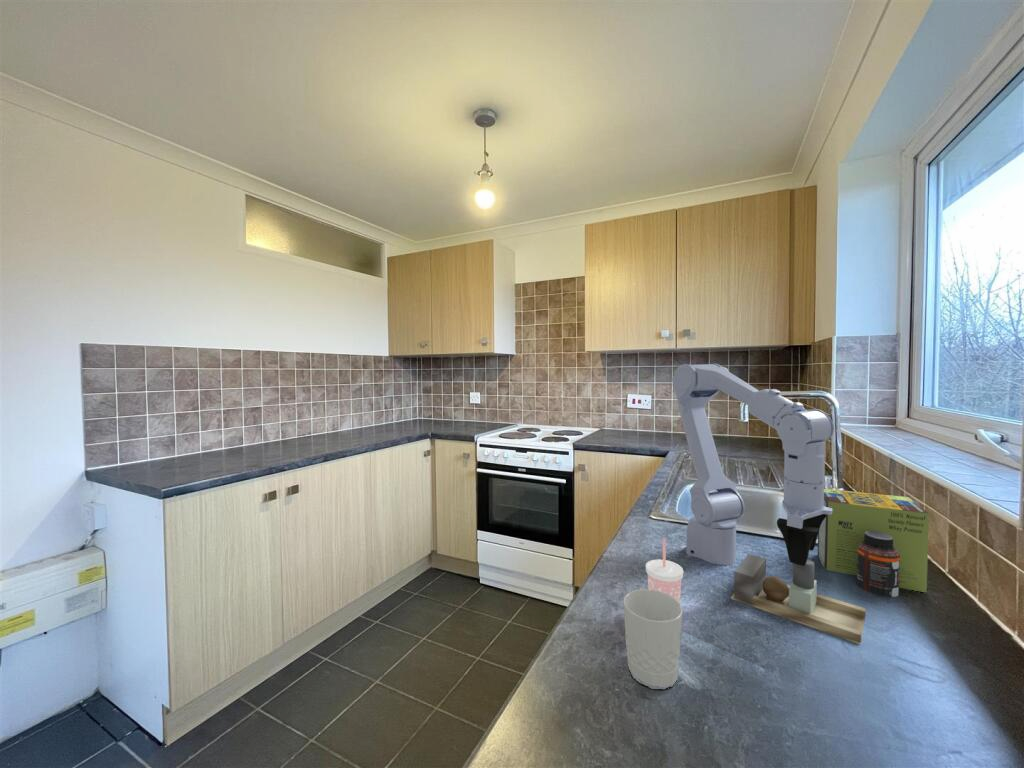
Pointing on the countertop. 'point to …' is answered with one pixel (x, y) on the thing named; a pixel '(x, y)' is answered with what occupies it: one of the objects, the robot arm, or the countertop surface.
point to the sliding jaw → (803, 588)
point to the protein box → (878, 515)
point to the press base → (825, 615)
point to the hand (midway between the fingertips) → (802, 555)
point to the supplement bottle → (878, 565)
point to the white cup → (653, 636)
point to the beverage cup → (665, 576)
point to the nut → (775, 589)
